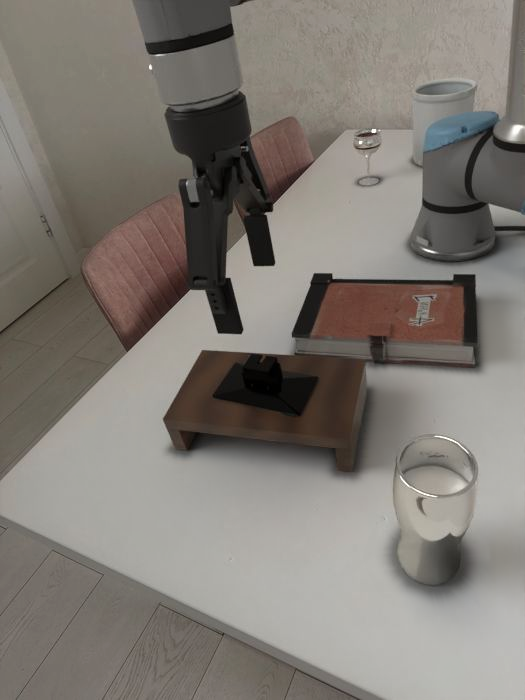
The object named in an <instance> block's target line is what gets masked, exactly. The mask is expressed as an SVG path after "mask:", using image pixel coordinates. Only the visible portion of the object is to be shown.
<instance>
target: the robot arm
mask: <svg viewBox="0 0 525 700" xmlns="http://www.w3.org/2000/svg"><path fill="white" fill-rule="evenodd" d="M131 1H132V5H133V8H134V12H135V14H136V18H137V21H138V25H139V27H140V31H141V34H142V38H143V40H144V41H143V42H144V46H145V50H146V52H147V56H148V59H149V64H148V65H149V66H148V70H149V73H150V74H152V75H153V77H154V81H155V84H156V87H157V91H158V95H159V99H160V102H161V103H163V104H164V105H166V106H168V107H167V108H166V109H165V112H164V119H165V122H166V126H167V129H168V130H167V131H168V133H169V137H170V140H171V144H172V148H173V149H174V150H175V151H176V152H177V153H178V154H180V155H184V156H186V157H188V158H189V160H191V164H192V165H191V166H192V177H190V178H179V180H178V185H177V186H178V191H179V196H180V199H181V204H182V211H183V223H184V237H185V250H186V266H187V277H188V279H187V280H188V288H189V289H190V291H204V292H205V295H206V299H207V302H208V305H209V308H210V312H211V315H212V319H213V322H214V325H215V329H216V332H217V334H219V335H220V334H221V335H242V334H243V332H244V330H245V329H244V325H243V322H242V321H243V320H242V318H241V313H240V311H239V306H238V302H237V298H236V294H235V291H234V286H233V283H232V279H231V277H227V256H228V255H227V253H228V250H227V249H228V227H229V226H228V225H229V216H230V215H232V213H233V211H234V200H235V201H236V203H238V205H239V206H240V207H241V209H242V210H243V211H244V213H245V214H249V215H244V217H243V224H244V228H245V229H244V230H245V233H246V237H247V243H248V247H249V252H250V256H251V261H252V266H253V267H275V265H276V258H275V253H274V248H273V242H272V235H271V231H270V230H271V229H270V224H269V219H268V215H267V214H266V213H273V212H274V203H273V201H270V200H271V191H270V190H269V187H268V184H267V181H266V179H265V177H264V174H263V171H262V169H261V167H260V164H259V161H258V159H257V156H256V154H255V152H254V149H253V145H252V139H251V134H252V130H253V129H252V124H251V118H250V111H249V107H248V101H247V97H246V95H245V94H244V93H243V92H242V91H240V89H241V88H242V86H243V85H244V82H245V81H244V76H243V71H242V65H241V60H240V54H239V51H238V49H239V48H238V45H237V39H236V34H235V30H234V25H233V24H234V23H233V19H232V12H231V8H232V7H233V8H234V7H238V6H241V5H243V4H245V3H248V2H252V1H254V0H131ZM512 2H513V3H512V15H511V29H510V30H511V31H510V42H509V43H510V45H509V59H508V71H507V72H508V73H507V85H506V86H507V87H506V99H505V101H506V102H505V115H503V116H502V117H501V118H500V115H499V113H497V112H495V111H492V110H477V111H473V112H468V113H462V114H458V115H453V116H450V117H446V118H444V119H441V120H439V121H436V122H435V123H433V124H432V125H430V126H429V127H428V129H427V130H426V133H425V141H424V149H423V166H422V182H421V184H422V186H421V190H422V191H421V197H422V198H421V207H420V209H419V212H418V214H417V217H416V220H415V222H414V226H413V228H412V230H411V233H410V245H411V249H412V250H413V251H414V252H415V253H416V254H418V255H420V256H422V257H424V258H426V259H430V260H433V261H434V260H435V261H439V262H461V261H462V262H463V261H469V260H473V259H477V258H479V257H482V256H484V255H486V254H488V252H490V251H492V249H493V247H494V246H495V242H496V241H495V240H496V232H525V225H494V220H493V217H492V212H491V209H490V205H492V206H496V207H499V208H503V209H507V210H511V211H514V212H516V213H520V214H521V215H523V216H525V0H513V1H512Z"/></svg>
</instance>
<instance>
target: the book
mask: <svg viewBox="0 0 525 700" xmlns="http://www.w3.org/2000/svg"><path fill="white" fill-rule="evenodd" d="M333 277H334V276H333V273H332V272H314V273H313V275H312V277H311V279H310V282H309V283H310V285H309V288H308V291H307V293H306V296H305V298H304V301H303V303H302V306H301V307H300V308H301V309H300V310H299V314H298V316H297V318H296V321H295V324H294V326H293V329H292V331H291V338H295V345H296V347H295V350H294V355H298V356H315V357H332V358H349V359H365V361H366V362H373V364H374V365H383V364H384V363H391V364H392V363H393V364H406V365H407V364H408V365H422V366H435V367H437V366H438V367H452V368H453V367H454V368H471V369H475V368H476V353H475V352H476V348H478V346H479V345H478V344H479V337H478V336H479V335H478V313H477V311H478V310H477V289H476V287H477V280H476V279H477V278H476V277H477V275H476V274H475V273H474V274H473V273H453V276H452V279H389V278H388V279H387V278H386V279H385V278H383V279H379V278H378V279H376V278H375V279H374V278H373V279H372V278H333Z"/></svg>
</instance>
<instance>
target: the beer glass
mask: <svg viewBox="0 0 525 700" xmlns="http://www.w3.org/2000/svg"><path fill="white" fill-rule="evenodd" d="M394 462H395V463H394V471H393V478H392V501H393V503H392V504H393V507H394V513H395V516H396V519H397V523H398V526H399V529H400V533H401V536H400V538H399V541H398V544H397V549H396V552H397V560H398V562H399V565H400V567H401V568H402V570H403V571H404V573H406V575H407V576H408V577H410V578H411V579H412V580H414V581H416V582H417V583H420V584H423V585H426V586H440V585H444V584H446V583H448V582H450V581H452V580H453V579H454V578H455V577H456V576H457V574H458V572H459V570H460V567H461V551H460V548H459V546H460V543H461V541H462V540H463V538H464V536H465V535H466V533H467V531H468V529H469V527H470V525H471V522H472V520H473V518H474V514H475V510H476V505H477V498H478V483H479V482H478V481H479V480H478V478H479V464H478V461H477V458H476V457H475V455H474V454H473V452H472V451H471V450H470V449H469V448H468V447H467V446H466V445H465V444H463V443H462V442H460V441H459V440H457V439H454V438H453V437H450V436H447V435H442V434H435V433H433V434H432V433H431V434H421V435H417V436H413V437H412V438H410V439H408V440H406V441H405V442H404V443H403V444H402V445H401V446H400V447H399V448H398V451H397V452H396V455H395V460H394Z"/></svg>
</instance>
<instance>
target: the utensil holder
mask: <svg viewBox="0 0 525 700" xmlns="http://www.w3.org/2000/svg"><path fill="white" fill-rule="evenodd" d="M477 89H478V81H477V80H475V79H472V78H466V77H445V78H438V79H433V80H428V81H424V82H423V83H420V84H417V85H416V86H414V87H413V88H412V90H411V91H412V93H411V96H412V98H413V99H412V101H413V102H412V161H413V163H414V164H416V165H418V166H420V167H423V149H424V141H425V133H426V130H427V129H428V127H429V126H430V125H432V124H433V123H435V122H436V121H439V120H441V119H444V118H446V117H450V116H453V115H458V114H462V113H468V112H474V107H475V97H476V92H477Z"/></svg>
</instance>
